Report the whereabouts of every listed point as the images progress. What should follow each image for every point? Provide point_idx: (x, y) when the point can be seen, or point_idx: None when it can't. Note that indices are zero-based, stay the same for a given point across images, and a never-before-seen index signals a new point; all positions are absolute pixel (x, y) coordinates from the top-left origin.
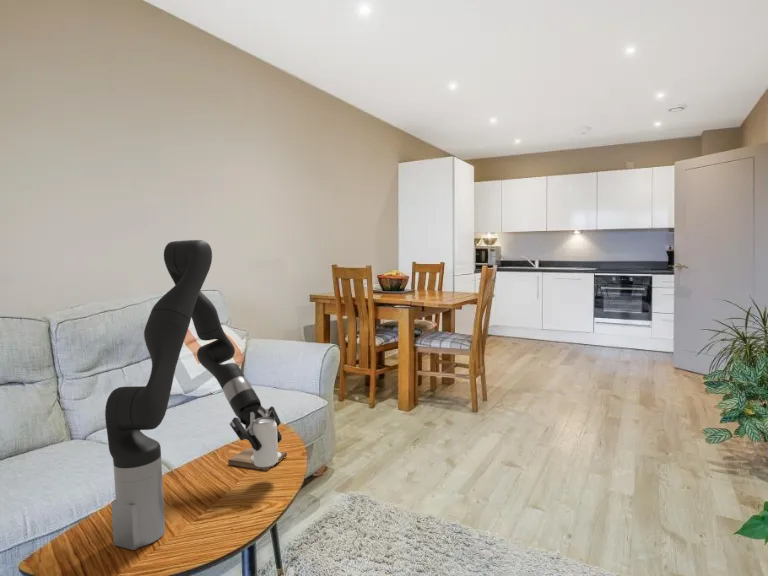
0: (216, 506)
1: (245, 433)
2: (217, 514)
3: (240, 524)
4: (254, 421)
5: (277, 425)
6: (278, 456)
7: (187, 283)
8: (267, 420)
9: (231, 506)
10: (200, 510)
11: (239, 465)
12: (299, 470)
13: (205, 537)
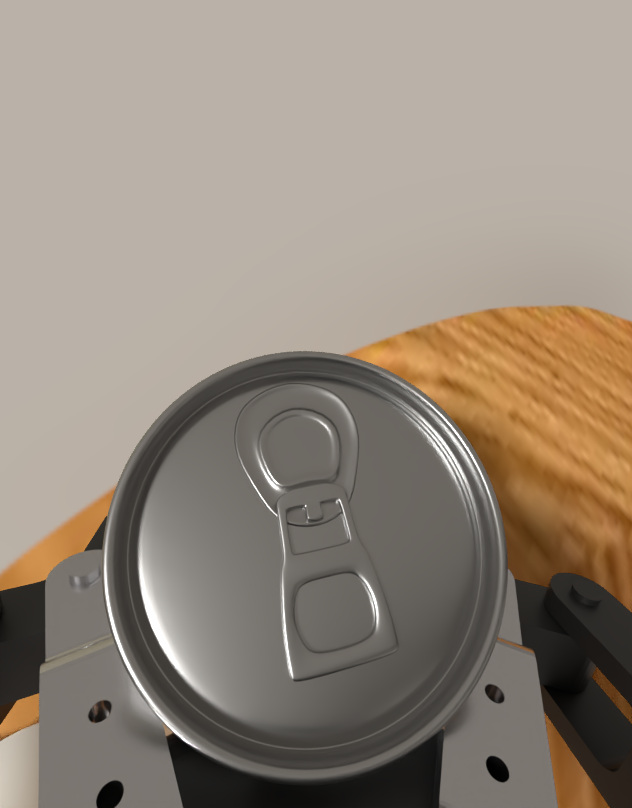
0: (546, 550)
1: (586, 586)
2: (562, 490)
3: (527, 373)
4: (494, 631)
5: (20, 592)
6: (7, 754)
7: None
8: (255, 517)
9: (503, 495)
10: (604, 580)
11: None
12: (95, 506)
13: (628, 405)
